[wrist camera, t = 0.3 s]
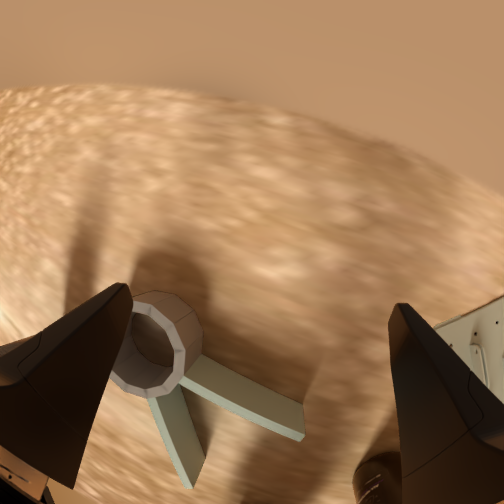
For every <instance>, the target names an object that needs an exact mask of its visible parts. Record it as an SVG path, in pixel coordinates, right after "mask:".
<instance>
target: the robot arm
mask: <svg viewBox="0 0 504 504" xmlns="http://www.w3.org/2000/svg"><path fill="white" fill-rule="evenodd" d="M132 309H133V299H132V296H131V293H130V290H129V287H128V285H127V284H126V283H119V282H117V283H114V284H113V285H111V286H110V287H108V288H106V289H105V290H103V291H102V292H100V293H99V294H97V295H95V296H94V297H92V298H91V299H89V300H88V301H86V302H85V303H83V304H81V305H80V306H78V307H77V308H75V309H74V310H72V311H71V312H69V313H68V314H66V315H65V316H63V317H62V318H60V319H58V320H57V321H55V322H54V323H52V324H51V325H49V326H48V327H46V328H45V329H44V330H43V331H40V332H39V333H38V334H36V335H35V336H33V337H32V338H30V339H29V340H27V341H26V342H24V343H22V344H21V345H19V346H17V347H16V348H14V349H12V350H11V351H9V352H7V353H6V354H4V355H2V356H0V504H55V503H54V501H53V498H52V496H51V493H50V491H49V488H48V487H47V486H46V484H47V482H48V479H49V477H50V478H52V479H53V480H55V481H57V482H59V483H61V484H62V485H64V486H66V487H68V488H70V489H72V490H73V488H74V485H75V482H76V478H77V474H78V471H79V467H80V464H81V460H82V457H83V454H84V450H85V447H86V444H87V440H88V437H89V434H90V431H91V428H92V425H93V422H94V419H95V416H96V413H97V410H98V407H99V404H100V401H101V398H102V395H103V393H104V390H105V387H106V384H107V382H108V379H109V376H110V374H111V371H112V369H113V366H114V363H115V361H116V358H117V356H118V353H119V351H120V348H121V345H122V343H123V340H124V336H125V333H126V329H127V326H128V323H129V319H130V316H131V313H132ZM388 332H389V346H390V363H391V373H392V379H393V386H394V393H395V400H396V408H397V417H398V426H399V437H400V449H401V464H402V495H403V504H504V404H503V403H502V402H501V401H500V400H499V399H498V398H497V397H496V396H495V395H494V394H493V393H492V392H491V391H490V390H489V389H488V388H487V387H486V385H485V384H484V383H483V382H482V381H481V380H480V379H479V378H478V377H477V376H476V374H475V373H474V372H473V371H472V370H471V371H470V368H469V367H468V366H467V364H466V363H465V362H464V361H463V360H462V359H461V358H460V357H459V356H458V355H457V353H456V352H455V351H454V350H453V349H452V348H451V347H450V346H449V345H448V344H447V343H446V342H445V341H444V339H443V338H442V337H441V336H440V335H439V334H438V333H437V332H436V331H435V330H434V329H433V328H432V327H431V326H430V325H429V324H428V323H427V322H426V321H425V320H424V319H423V318H422V317H421V316H420V315H419V314H418V313H417V312H416V311H415V310H414V309H413V308H412V307H411V306H410V305H409V304H408V303H396V304H395V306H394V309H393V311H392V314H391V316H390V319H389V322H388Z"/></svg>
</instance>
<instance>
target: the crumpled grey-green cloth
mask: <svg viewBox="0 0 504 504" xmlns="http://www.w3.org/2000/svg"><path fill="white" fill-rule="evenodd" d="M496 321H497V322H498V324H496ZM433 329H434V330H435V331H436V332H437V333H438V334H439V335H440V336H441V337H442V338H443V339H444V341H445V342H446V343H447V344H448V345H449V346H450V344H452V347H451V348H452V349H453V350H454V351H455V352H456V353H457V355H458V356H459V357H460V358H461V359H462V360H463V361H464V362H465V363H466V364H467V366H468V367H469V368H470V371H471V370H472V371H473V372H474V373H475V374H476V376H477V377H478V378H479V379H480V380H481V381H482V382H483V383H484V384H485V385H486V387H487V388H488V389H489V390H490V391H491V392H492V393H493V394H494V395H495V396H496V397H497V398H498V399H499V400H500V401H501V402H502V403H503V404H504V296H503V297H501V298H499V299H497V300H495V301H493V302H491V303H489V304H487V305H485V306H483V307H481V308H479V309H477V310H475V311H473V312H471V313H469V314H467V315H465V316H461V315H458V316H456V317H454V318H451V319H449V320H447V321H445V322H442V323H440V324H438V325H436V326H435V327H434V328H433ZM475 332H476V336H475V335H474V333H475Z"/></svg>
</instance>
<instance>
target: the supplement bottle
mask: <svg viewBox="0 0 504 504" xmlns="http://www.w3.org/2000/svg"><path fill="white" fill-rule="evenodd" d="M352 484H353V490H354V495H355V499H356V503H357V504H403V495H402V464H401V453H400V452H389V453H384V454H381V455H378V456H376V457H374V458H372V459H370V460H368V461H367V462H365V463H364V464H363V465H362V466H361V467H360V468H359V469H358V470H357V472H356V473H355V475H354V477H353V482H352Z"/></svg>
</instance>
